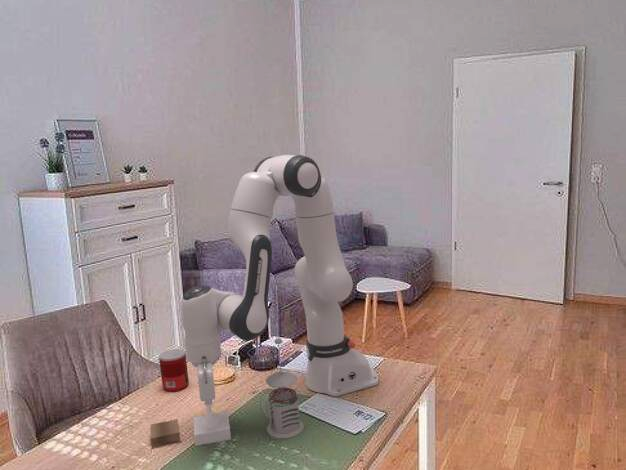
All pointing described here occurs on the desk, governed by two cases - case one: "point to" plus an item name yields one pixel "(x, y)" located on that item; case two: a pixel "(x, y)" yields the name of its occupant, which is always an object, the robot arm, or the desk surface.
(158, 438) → the walnut block
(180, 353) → the canned food
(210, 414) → the chess piece
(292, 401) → the french press
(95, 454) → the desk surface
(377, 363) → the desk surface
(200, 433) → the light block
